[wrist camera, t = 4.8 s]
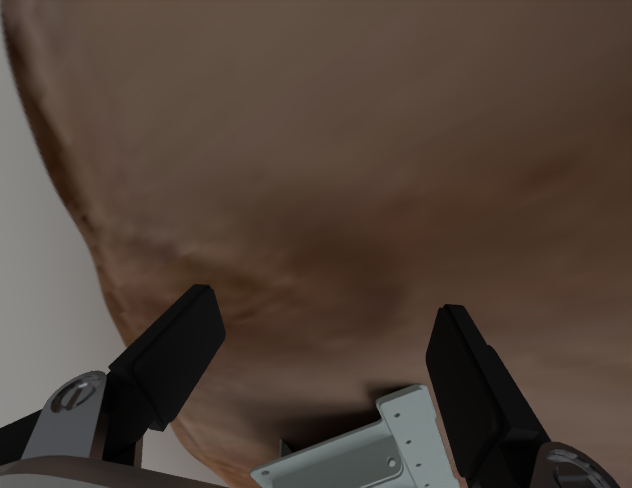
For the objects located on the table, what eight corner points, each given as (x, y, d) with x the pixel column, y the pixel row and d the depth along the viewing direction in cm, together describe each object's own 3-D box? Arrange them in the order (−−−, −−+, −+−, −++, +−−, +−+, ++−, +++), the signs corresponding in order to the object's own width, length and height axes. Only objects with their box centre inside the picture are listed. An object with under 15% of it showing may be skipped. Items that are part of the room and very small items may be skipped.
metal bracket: (316, 588, 18) (210, 503, 12) (310, 487, 23) (235, 397, 18) (492, 527, 17) (464, 408, 12) (444, 438, 22) (409, 328, 17)
